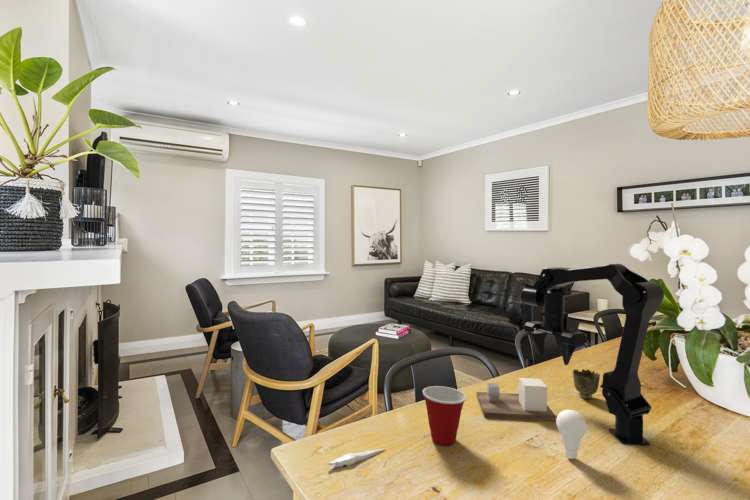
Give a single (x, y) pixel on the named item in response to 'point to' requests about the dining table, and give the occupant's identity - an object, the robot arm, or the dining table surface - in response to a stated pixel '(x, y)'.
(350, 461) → the white tapered spike
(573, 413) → the lightbulb
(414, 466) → the dining table surface
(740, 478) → the dining table surface
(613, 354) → the dining table surface
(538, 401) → the off-white cube
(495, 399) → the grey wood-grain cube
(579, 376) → the dark bronze hollow piece
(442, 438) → the plastic cup
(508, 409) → the board
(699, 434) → the dining table surface
